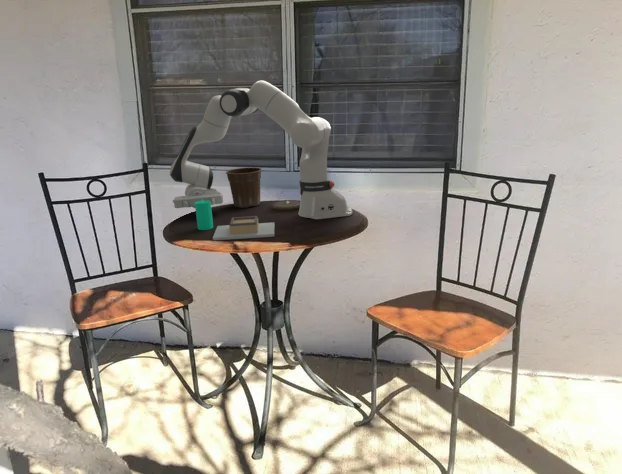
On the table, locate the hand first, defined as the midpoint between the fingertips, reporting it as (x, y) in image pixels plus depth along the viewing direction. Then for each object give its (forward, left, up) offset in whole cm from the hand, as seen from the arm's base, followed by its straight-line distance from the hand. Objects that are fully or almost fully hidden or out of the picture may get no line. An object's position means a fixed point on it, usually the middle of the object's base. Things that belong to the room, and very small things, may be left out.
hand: (200, 204), depth 207 cm
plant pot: (-17, -24, -7) cm, 30 cm away
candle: (-3, +12, -7) cm, 14 cm away
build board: (-19, +22, -7) cm, 30 cm away
